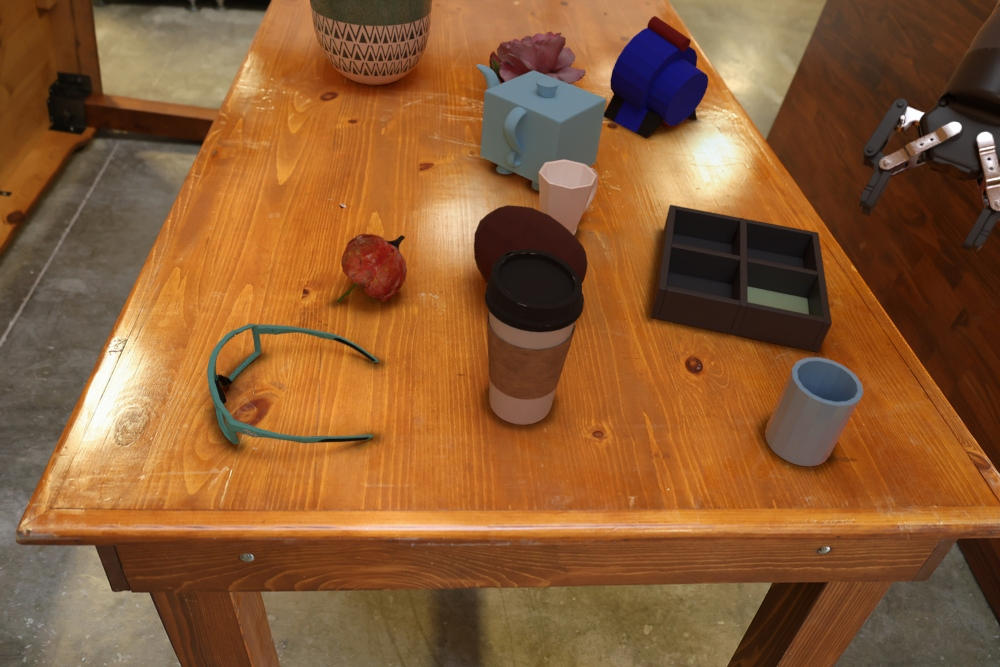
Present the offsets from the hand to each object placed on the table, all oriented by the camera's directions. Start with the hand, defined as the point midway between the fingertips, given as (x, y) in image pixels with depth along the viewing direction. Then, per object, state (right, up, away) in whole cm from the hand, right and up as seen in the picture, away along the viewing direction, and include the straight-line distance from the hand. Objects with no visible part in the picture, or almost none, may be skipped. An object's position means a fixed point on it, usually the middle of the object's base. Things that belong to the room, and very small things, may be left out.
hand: (913, 231), depth 68 cm
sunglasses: (-55, -15, +4) cm, 57 cm away
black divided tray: (-9, -4, +22) cm, 24 cm away
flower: (-31, +31, +60) cm, 74 cm away
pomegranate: (-50, -5, +16) cm, 53 cm away
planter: (-57, +33, +59) cm, 89 cm away
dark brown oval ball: (-34, -5, +18) cm, 38 cm away
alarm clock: (-12, +25, +56) cm, 62 cm away
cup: (-28, +4, +30) cm, 41 cm away
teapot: (-33, +15, +41) cm, 55 cm away
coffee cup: (-34, -16, +6) cm, 38 cm away
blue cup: (-9, -19, +4) cm, 21 cm away
